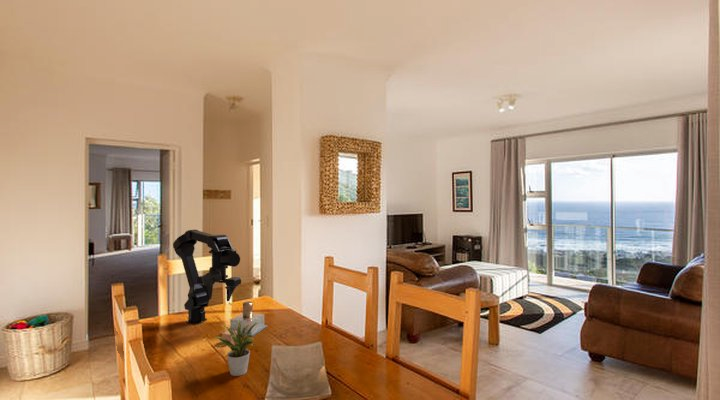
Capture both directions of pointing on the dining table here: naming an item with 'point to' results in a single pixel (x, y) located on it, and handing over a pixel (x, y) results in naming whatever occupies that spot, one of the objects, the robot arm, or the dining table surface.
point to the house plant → (238, 349)
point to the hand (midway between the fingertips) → (218, 300)
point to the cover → (247, 319)
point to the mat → (256, 331)
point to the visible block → (228, 335)
